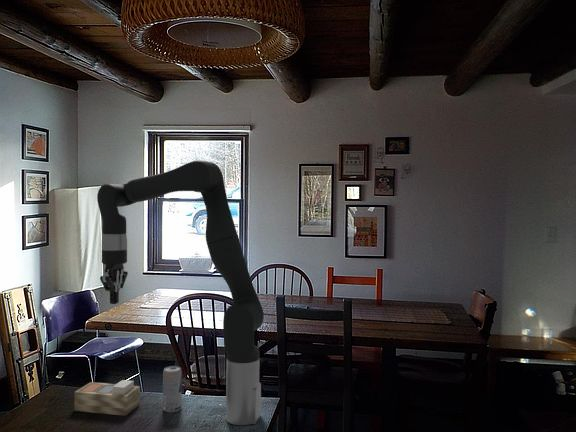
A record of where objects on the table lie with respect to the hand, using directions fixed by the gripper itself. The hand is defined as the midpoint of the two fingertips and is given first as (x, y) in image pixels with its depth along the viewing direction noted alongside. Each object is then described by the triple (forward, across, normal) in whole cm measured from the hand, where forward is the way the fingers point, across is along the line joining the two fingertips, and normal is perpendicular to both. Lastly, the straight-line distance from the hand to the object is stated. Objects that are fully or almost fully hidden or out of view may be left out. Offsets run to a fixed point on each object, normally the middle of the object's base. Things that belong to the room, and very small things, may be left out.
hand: (114, 303), depth 157 cm
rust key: (+27, -9, +2) cm, 28 cm away
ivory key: (+25, -9, -8) cm, 27 cm away
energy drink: (+29, -6, -22) cm, 37 cm away
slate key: (+27, -9, -3) cm, 28 cm away
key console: (+29, -9, -3) cm, 31 cm away
